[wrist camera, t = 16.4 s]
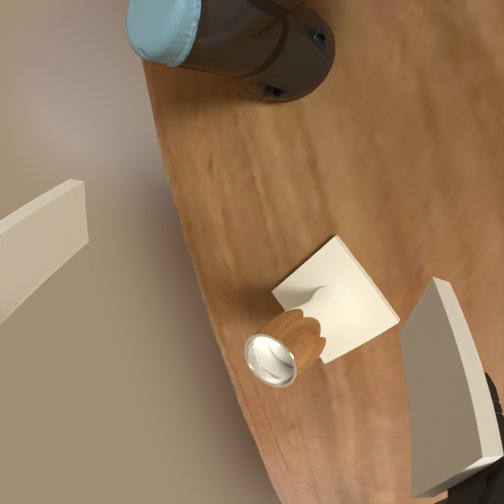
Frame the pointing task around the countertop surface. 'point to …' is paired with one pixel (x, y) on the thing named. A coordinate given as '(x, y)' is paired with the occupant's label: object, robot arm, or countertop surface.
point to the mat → (351, 285)
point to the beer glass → (296, 337)
